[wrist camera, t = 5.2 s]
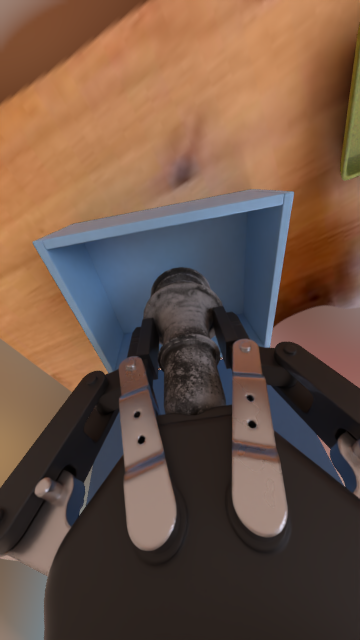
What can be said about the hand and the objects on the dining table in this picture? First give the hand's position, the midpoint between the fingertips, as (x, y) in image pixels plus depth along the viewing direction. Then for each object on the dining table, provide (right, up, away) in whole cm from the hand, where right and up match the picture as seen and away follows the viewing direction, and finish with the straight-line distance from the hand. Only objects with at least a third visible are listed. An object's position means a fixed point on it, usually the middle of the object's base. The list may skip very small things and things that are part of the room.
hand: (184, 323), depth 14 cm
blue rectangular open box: (-1, +5, +7) cm, 9 cm away
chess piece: (0, +2, +3) cm, 4 cm away
